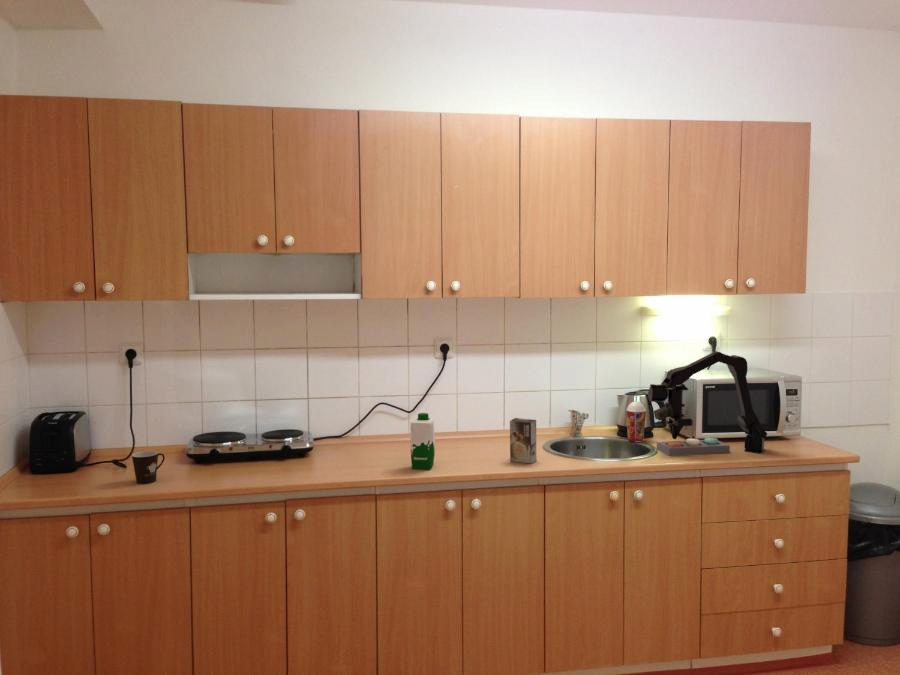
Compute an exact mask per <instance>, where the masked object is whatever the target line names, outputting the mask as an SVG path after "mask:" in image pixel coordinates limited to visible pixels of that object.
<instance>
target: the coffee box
mask: <svg viewBox="0 0 900 675" xmlns="http://www.w3.org/2000/svg"><path fill="white" fill-rule="evenodd" d="M509 457H510V458H509V460H510V462H516V463H525V464H533V463H534V462H536V461H537V460H538V459H537V457H538V456H537V420H536V419H532V418H531V419H530V418H518V417H514V418H513V419H510V421H509Z"/></svg>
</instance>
